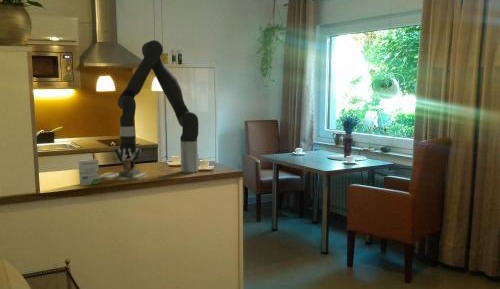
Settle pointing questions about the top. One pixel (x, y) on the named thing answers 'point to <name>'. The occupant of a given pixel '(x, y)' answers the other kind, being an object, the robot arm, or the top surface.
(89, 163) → the ink box
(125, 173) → the sanding block
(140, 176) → the birch board
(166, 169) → the top surface
